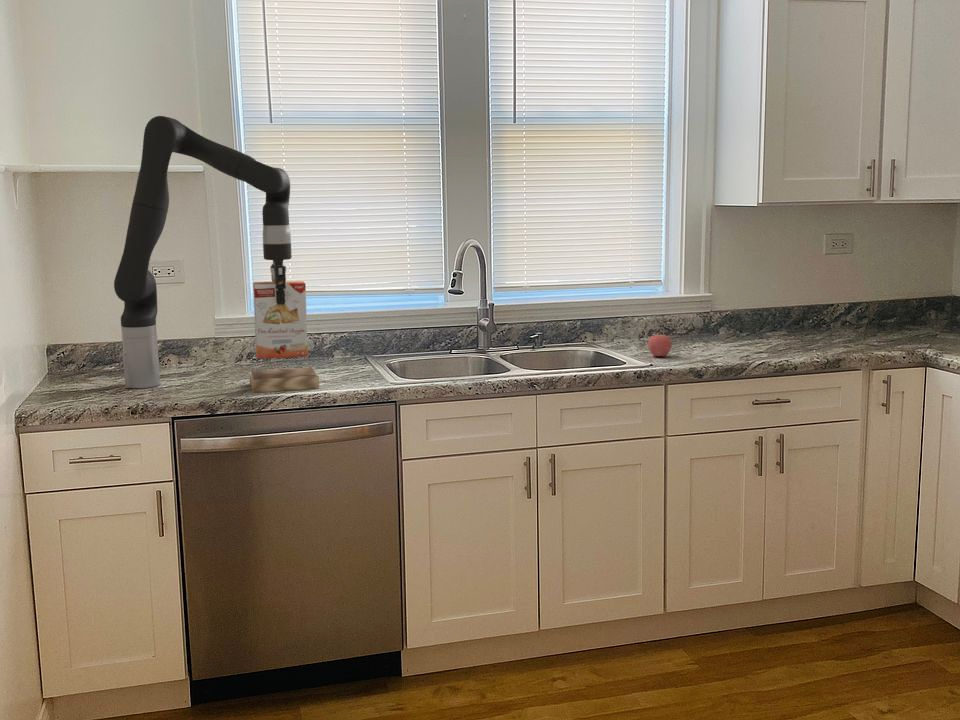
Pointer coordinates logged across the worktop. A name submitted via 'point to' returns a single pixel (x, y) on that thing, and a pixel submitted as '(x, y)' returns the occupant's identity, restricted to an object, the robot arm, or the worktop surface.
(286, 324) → the cracker box
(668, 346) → the apple
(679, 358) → the worktop surface
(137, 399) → the worktop surface
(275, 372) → the podium
